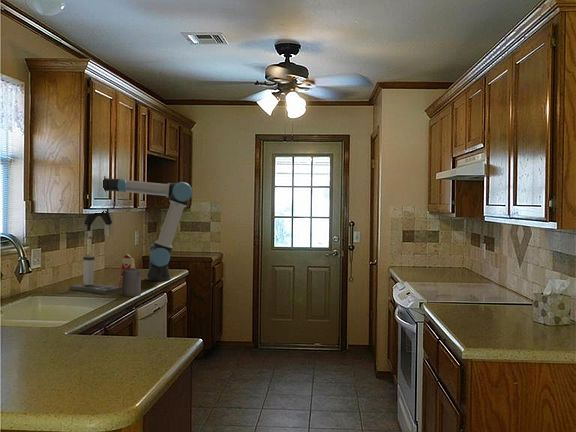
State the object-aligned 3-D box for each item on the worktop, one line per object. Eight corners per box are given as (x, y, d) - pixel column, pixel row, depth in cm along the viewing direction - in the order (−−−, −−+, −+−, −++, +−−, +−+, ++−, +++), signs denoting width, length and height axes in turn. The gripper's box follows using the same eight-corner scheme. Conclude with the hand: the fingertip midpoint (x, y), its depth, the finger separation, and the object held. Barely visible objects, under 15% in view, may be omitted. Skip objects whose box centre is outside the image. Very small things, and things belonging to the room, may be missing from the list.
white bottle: (82, 284, 320) (83, 257, 319) (88, 283, 323) (89, 256, 323) (88, 285, 318) (89, 257, 317) (93, 284, 322) (94, 256, 321)
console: (69, 289, 317) (69, 285, 317) (88, 286, 330) (88, 282, 330) (104, 294, 306) (104, 290, 306) (122, 290, 319) (122, 286, 319)
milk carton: (132, 287, 330) (133, 253, 329) (117, 287, 330) (117, 253, 329) (137, 285, 339) (138, 252, 338) (122, 284, 339) (122, 251, 338)
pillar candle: (119, 294, 308) (120, 266, 308) (136, 292, 314) (137, 265, 314) (126, 297, 301) (126, 269, 300) (143, 295, 307) (144, 268, 306)
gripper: (109, 200, 352) (108, 234, 353) (78, 200, 330) (77, 236, 330) (118, 200, 349) (117, 235, 350) (88, 200, 326) (87, 237, 327)
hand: (98, 235), depth 340 cm, fingers open, 13 cm apart
